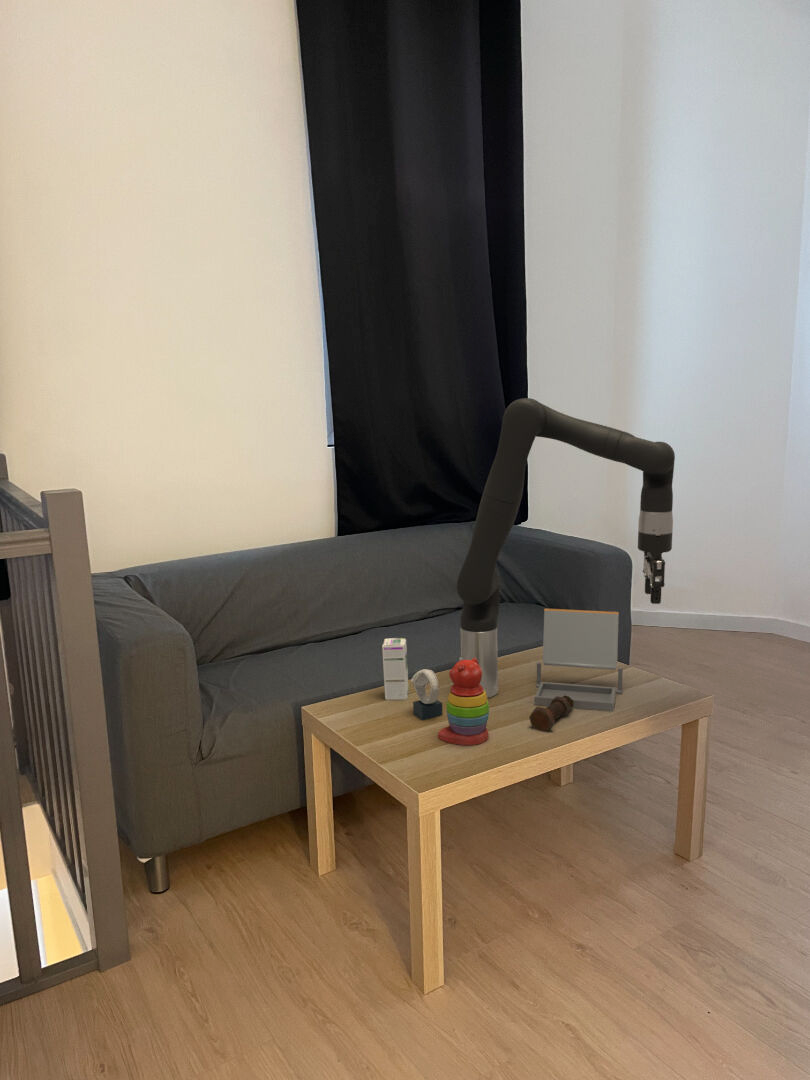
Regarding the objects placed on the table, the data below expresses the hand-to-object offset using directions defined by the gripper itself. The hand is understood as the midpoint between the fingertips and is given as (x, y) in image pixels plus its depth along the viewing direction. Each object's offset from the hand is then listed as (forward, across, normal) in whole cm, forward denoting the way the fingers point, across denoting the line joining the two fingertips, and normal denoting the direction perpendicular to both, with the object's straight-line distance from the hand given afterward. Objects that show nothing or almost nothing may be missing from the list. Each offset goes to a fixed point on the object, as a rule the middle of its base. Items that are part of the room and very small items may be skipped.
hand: (652, 598), depth 193 cm
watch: (+28, +7, -52) cm, 60 cm away
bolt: (+28, +8, -22) cm, 36 cm away
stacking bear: (+28, +19, -42) cm, 54 cm away
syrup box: (+28, -5, -61) cm, 68 cm away
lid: (+15, -14, -15) cm, 25 cm away
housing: (+27, -6, -16) cm, 32 cm away
